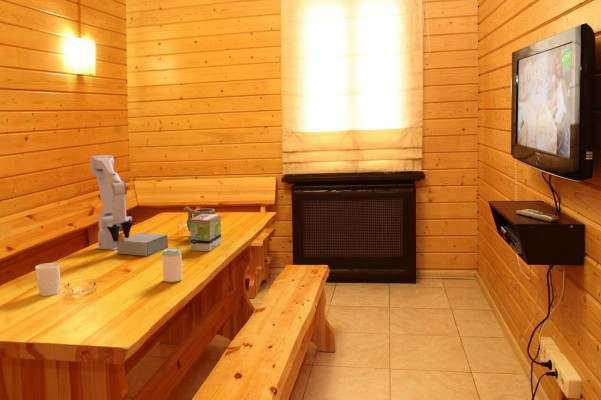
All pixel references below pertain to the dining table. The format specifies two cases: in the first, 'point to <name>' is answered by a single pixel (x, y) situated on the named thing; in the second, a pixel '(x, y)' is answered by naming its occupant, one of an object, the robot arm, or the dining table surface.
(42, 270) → the white cup
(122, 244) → the grey drawer
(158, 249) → the carton
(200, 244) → the tea box
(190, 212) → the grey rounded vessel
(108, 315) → the dining table surface
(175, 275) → the can
